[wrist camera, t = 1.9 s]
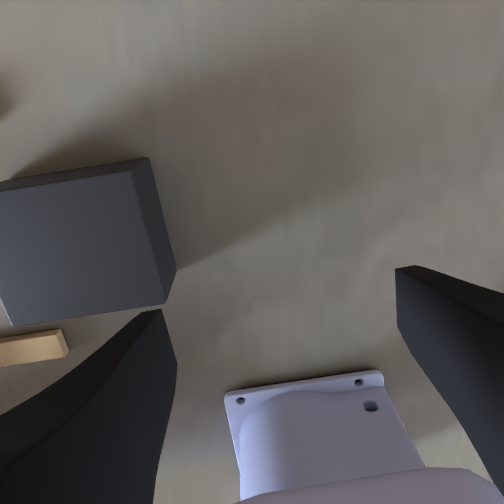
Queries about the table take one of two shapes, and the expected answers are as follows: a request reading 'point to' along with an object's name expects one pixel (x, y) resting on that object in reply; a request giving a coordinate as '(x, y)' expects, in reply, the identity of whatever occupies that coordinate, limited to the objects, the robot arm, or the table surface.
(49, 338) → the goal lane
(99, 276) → the black block
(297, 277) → the table surface
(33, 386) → the table surface
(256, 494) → the robot arm
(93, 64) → the table surface
